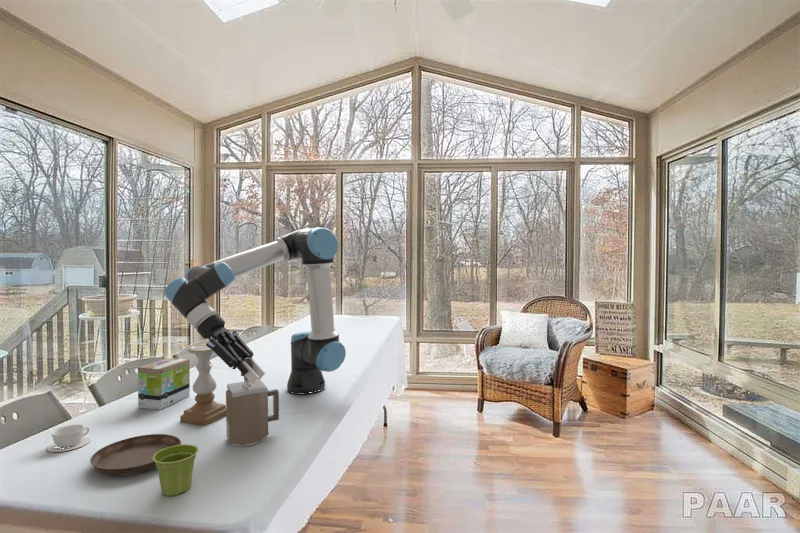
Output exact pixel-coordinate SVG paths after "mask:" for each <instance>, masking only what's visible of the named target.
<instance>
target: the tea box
mask: <svg viewBox="0 0 800 533" xmlns="http://www.w3.org/2000/svg"><path fill="white" fill-rule="evenodd" d="M190 363H191V362H190V359H188V358H187V359H185V358H174V357H173V358H171V357H168V358H164V359H161V360H158V361H155V362H152V363H149V364H146V365H145V364H144V365H142V366H139V367H138V368H137V370H138V372H137V373H138V374H137V375H138V377H137V381H138V382H137V383H138V384H137V386H138V387H137V393H138V394H137V398H138V399H137V407H138V408H141V409H149V410H150V409H151V410H161V411H162V410H163V409H164V408H166V407H169V406H171V405H172V404H173V405H174V404H175V403H177V402H180V401H182V400H184V399H186V398H189V397H190V391H191V390H190V384H191V383H190V380H191V379H190V374H191V372H190V368H191V367H190V366H191V364H190Z"/></svg>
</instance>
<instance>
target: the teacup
mask: <svg viewBox="0 0 800 533" xmlns="http://www.w3.org/2000/svg"><path fill="white" fill-rule="evenodd" d="M85 430H86V432H85ZM89 432H90V429H89V427H88V426H85V425H84V424H71V425H64V426H61V427H59V428H56V429H55V430H53V431H52V432H51V438H52V441H53V443H51V444H49V445H48V446H46V451H47V452H50V453H61V452H62V453H63V452H67V451H72V450H75V449H79V448H81V447H83V446H85V445H87V444H88V443H89V442H90V441H91V438H90V437H88V436H86V435H88V434H89ZM56 446H57V447H60V448H61V449H60V448H54V447H56ZM68 447H69V448H68ZM62 448H64V449H62Z"/></svg>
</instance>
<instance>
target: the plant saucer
mask: <svg viewBox="0 0 800 533" xmlns="http://www.w3.org/2000/svg"><path fill="white" fill-rule="evenodd" d="M175 445H182V440H181V439H180V438H179V437H177V436H175V435H172V434H164V433H159V434H158V433H156V434H155V433H153V434H151V433H150V434H145V435H137V436H133V437H129V438H124V439H121V440H118V441H115V442H112V443H110V444H107V445H106V446H104V447H102V448H100V449H98V450H97V451H95V452H94V453H93V454H92V456H91V457H90V459H89V462H90V464H91V466H93V467H94V469H96V470H97V471H99V472H101V473H103V474H105V475H106V476H107V475H108V476H116V477H120V476H121V477H123V476H132V475H137V474H142V473H145V472H148V471H151V470H153V469H157V466H156V464H155V462H154V461H153V456H154V454H155V453H157V452H158V451H160V450H162V449H164V448H167V447H171V446H175Z"/></svg>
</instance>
